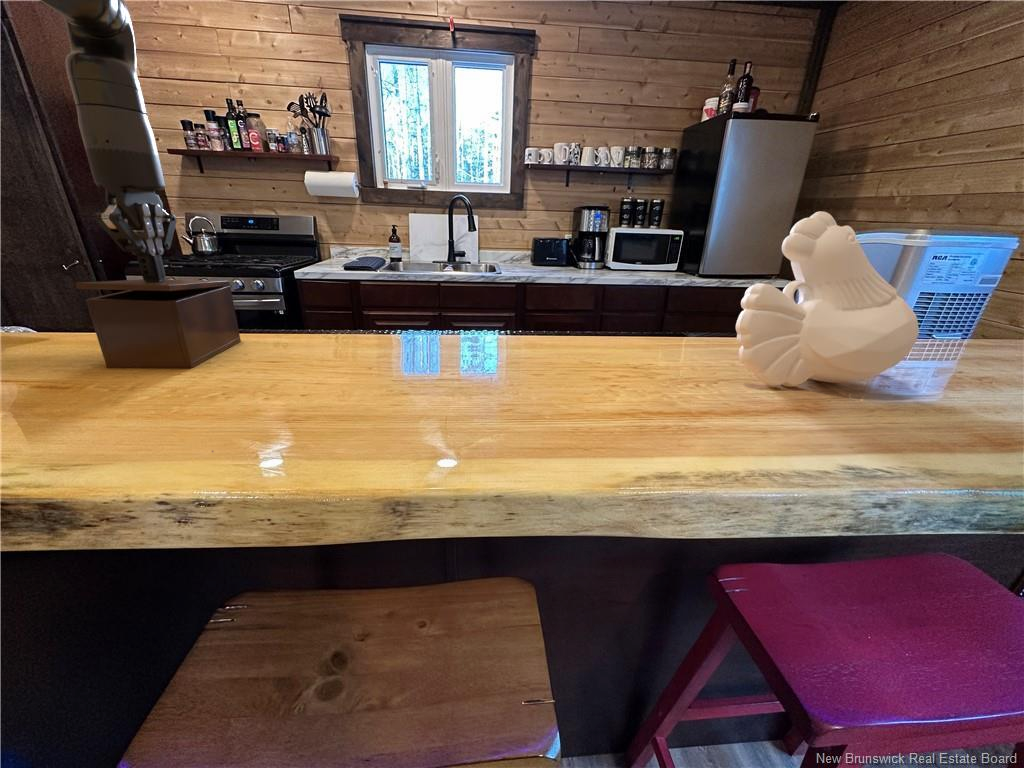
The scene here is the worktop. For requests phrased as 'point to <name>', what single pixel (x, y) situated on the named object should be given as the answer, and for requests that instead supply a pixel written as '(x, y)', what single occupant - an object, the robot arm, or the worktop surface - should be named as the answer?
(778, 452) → the worktop surface
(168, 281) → the lid
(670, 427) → the worktop surface
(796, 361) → the decorative rooster
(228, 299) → the chest
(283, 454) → the worktop surface
